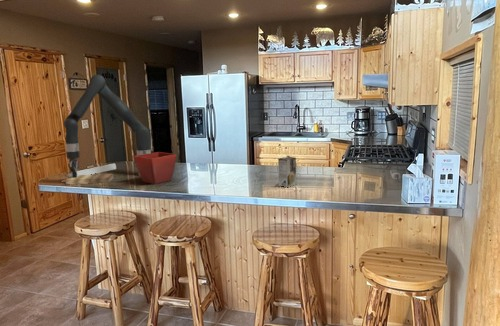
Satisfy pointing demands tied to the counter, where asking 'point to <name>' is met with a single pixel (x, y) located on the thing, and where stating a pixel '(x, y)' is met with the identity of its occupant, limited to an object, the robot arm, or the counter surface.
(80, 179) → the oak plank
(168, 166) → the plant pot
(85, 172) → the decorative molding
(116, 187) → the counter surface
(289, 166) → the coffee box
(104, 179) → the wooden block
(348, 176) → the counter surface
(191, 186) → the counter surface
